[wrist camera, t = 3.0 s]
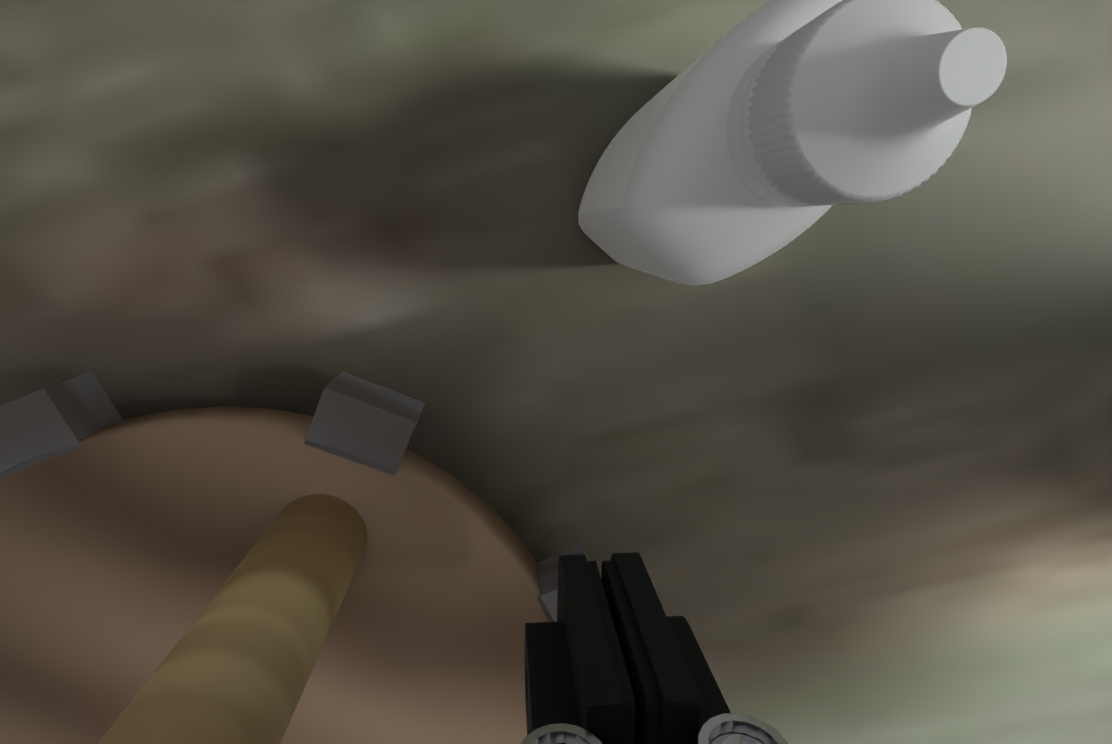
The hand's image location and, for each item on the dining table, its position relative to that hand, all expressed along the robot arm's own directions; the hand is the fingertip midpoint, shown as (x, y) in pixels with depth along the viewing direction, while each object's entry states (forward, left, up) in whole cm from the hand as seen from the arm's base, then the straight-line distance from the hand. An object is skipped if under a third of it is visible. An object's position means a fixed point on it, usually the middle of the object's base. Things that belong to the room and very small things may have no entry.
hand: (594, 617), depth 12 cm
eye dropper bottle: (+1, -10, -8) cm, 12 cm away
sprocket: (+6, +10, -6) cm, 13 cm away
